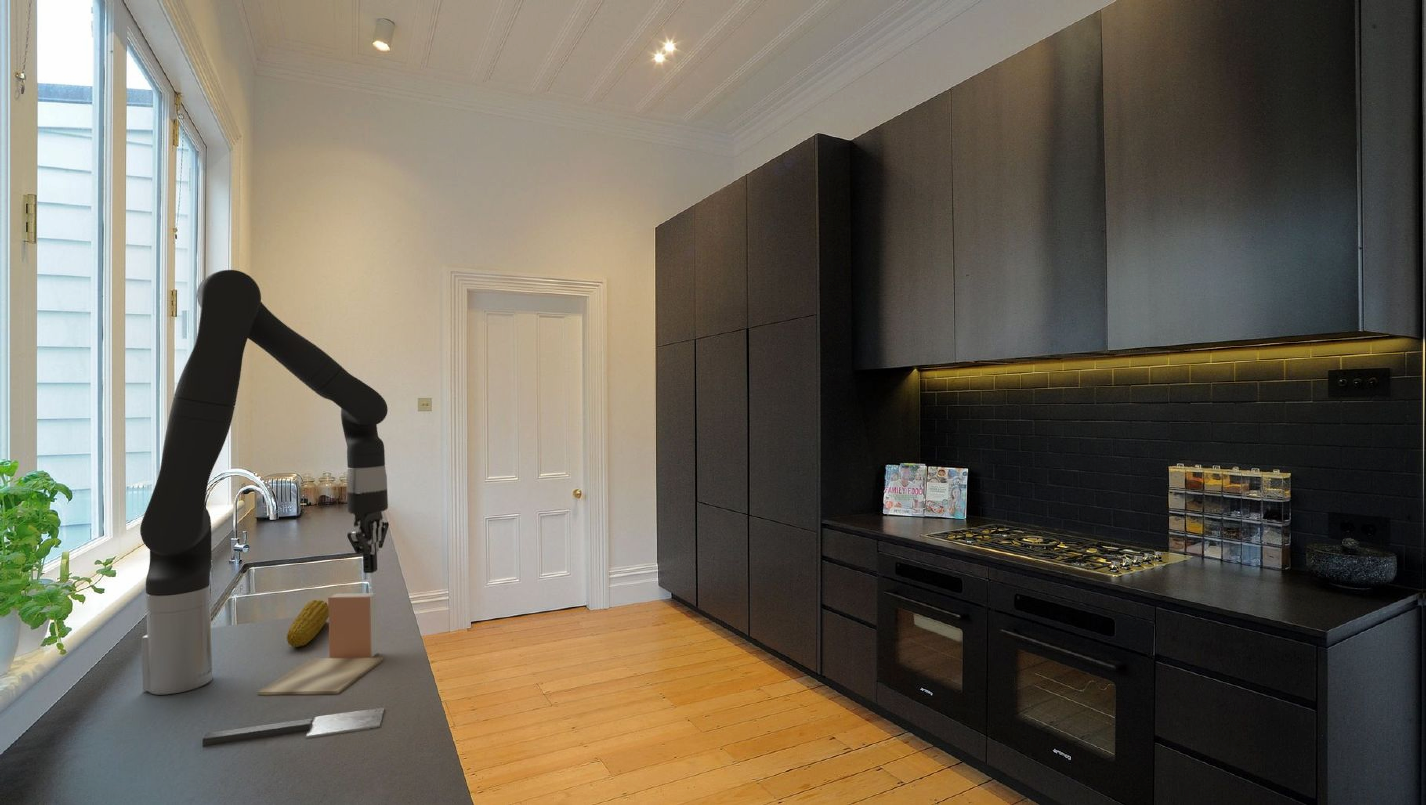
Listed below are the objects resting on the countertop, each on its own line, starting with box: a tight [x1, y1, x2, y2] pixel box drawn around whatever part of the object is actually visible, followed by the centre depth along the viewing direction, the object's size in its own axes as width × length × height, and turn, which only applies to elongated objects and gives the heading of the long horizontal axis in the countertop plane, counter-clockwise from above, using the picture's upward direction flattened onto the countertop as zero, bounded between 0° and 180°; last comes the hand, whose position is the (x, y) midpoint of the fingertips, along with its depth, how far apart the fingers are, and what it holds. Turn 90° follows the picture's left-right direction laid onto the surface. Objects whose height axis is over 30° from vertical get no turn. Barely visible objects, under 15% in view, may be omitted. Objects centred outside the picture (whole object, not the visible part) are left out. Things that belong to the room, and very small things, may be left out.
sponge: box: [327, 592, 379, 658], centre depth 144 cm, size 8×3×12 cm, turn 88°
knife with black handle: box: [202, 706, 385, 748], centre depth 112 cm, size 24×7×1 cm, turn 108°
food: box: [286, 599, 329, 648], centre depth 157 cm, size 21×6×6 cm, turn 18°
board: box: [257, 657, 384, 696], centre depth 133 cm, size 14×16×1 cm
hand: (370, 571), depth 151 cm, fingers closed
